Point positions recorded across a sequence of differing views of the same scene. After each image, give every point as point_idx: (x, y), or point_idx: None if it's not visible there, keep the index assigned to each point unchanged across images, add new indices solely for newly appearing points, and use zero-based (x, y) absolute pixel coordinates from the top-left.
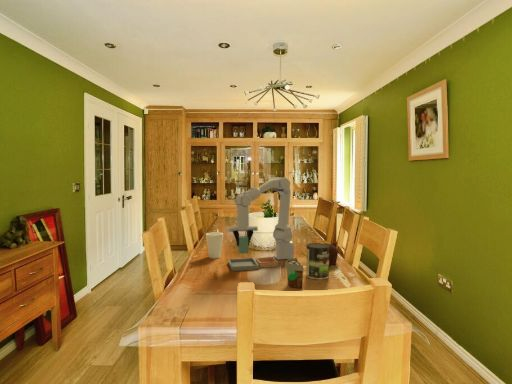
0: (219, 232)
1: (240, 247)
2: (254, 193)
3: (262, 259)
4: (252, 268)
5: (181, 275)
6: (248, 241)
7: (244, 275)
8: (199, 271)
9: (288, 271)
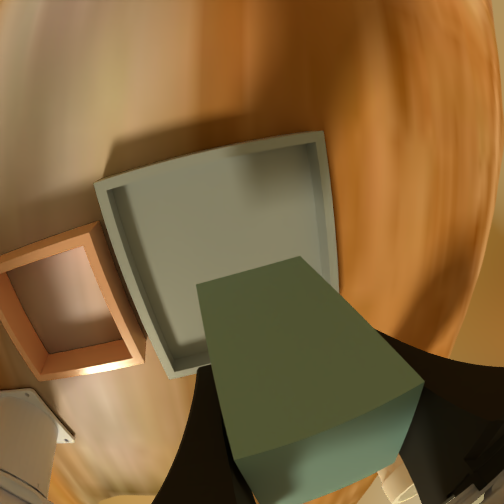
0: (402, 501)
1: (319, 293)
2: None
3: (96, 357)
4: (151, 163)
5: (498, 113)
6: (214, 404)
7: (218, 26)
8: (460, 155)
9: None
